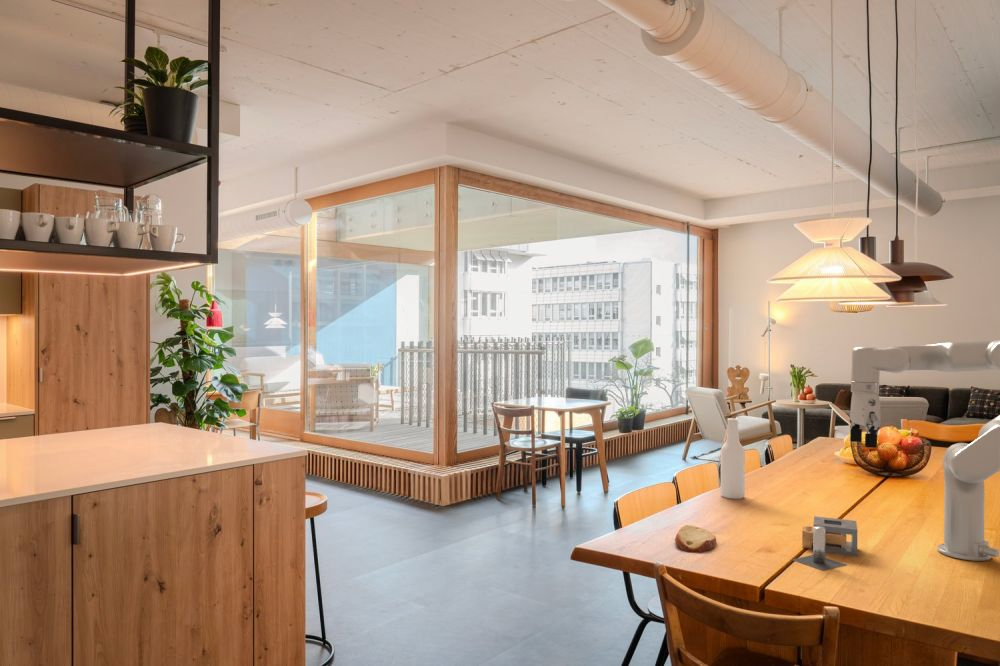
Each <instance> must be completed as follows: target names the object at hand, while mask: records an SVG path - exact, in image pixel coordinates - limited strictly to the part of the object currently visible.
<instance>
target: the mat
mask: <svg viewBox="0 0 1000 666" xmlns="http://www.w3.org/2000/svg"><path fill="white" fill-rule="evenodd" d="M791 561H793V562H796V563H798V564H802V565H805V566H808V567H810V568H813V569H816V570H819V571H822V572H825V571H830V570H832V569H833V570H834V569H838V568H842V567H846V566H847V564H846V563H844V562H841V561H840V562H839V561H836V560H834V559H830V558H828V557H825V564H817V563H814V562H813V554H810V555H806V556H802V557H798V558H793V559H791Z"/></svg>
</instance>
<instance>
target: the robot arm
mask: <svg viewBox="0 0 1000 666" xmlns="http://www.w3.org/2000/svg"><path fill="white" fill-rule="evenodd" d="M905 371H937V372H945V373H947V372H949V373H958V372H959V373H960V372H983V371H1000V339H994V340H993V339H992V340H991V339H990V340H975V341H974V340H972V341H956V342H955V341H951V342H940V343H935V344H925V345H924V344H922V345H906V346H889V347H886V348H885V347H884V348H878V347H873V346H856V347H854V348H853V349H852V352H851V374H850V375H851V377H850V379H851V380H850V392H851V400H850V411H849V415H848V416H849V423H850V424H849V427H850V429H849V430H850V436H849V437H850V438H849V441H850V442H853V443H862V440H863V439H862V435H863V433H862V432H863V428H862V427H864V428H865V431H866V433H865V434H864V435H865V437H864V447H865V448H874V449H876V448H877V447H878V435H879V429H880V426H881V401H880V372H887V373H893V374H897V373H898V374H899V373H903V372H905ZM977 436H978V437H977V438H975V439H974V440H973V441H972V442H970V443H966V442H957V443H954V444H952V445H950V446H948V448H947V449H946V450H945V452H944V454H943V458H942V464H943V465H942V467H943V482H944V483H943V484H944V495H943V496H944V497H943V498H944V499H943V502H944V503H943V504H944V505H943V508H944V509H943V513H944V514H943V517H944V518H943V541H944V542H943V543H941V544H938V545H937V551H938V552H939V553H940V554H942V555H945V556H947V557H950V558H951V557H952V558H955V559H959V560H965V561H966V560H967V561H971V562H972V561H973V562H974V561H975V562H977V561H978V562H983V561H988V560H989V561H990V560H991V559H992V557H994V558H999V557H1000V551H999V549H998V548H997V547H990V545H989V541H987V540H985V500H986V499H985V497H986V496H985V495H986V493H985V480H987V479H989V478H990V477H993V476H994V475H995V474H996V473H998V472H1000V414H999V415H998V416H996V417H994V418H993V419H991V420H990V421H988V422H987V423H985V424H983V425H982V426H981V428H980V429H979V431H978V435H977Z"/></svg>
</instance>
